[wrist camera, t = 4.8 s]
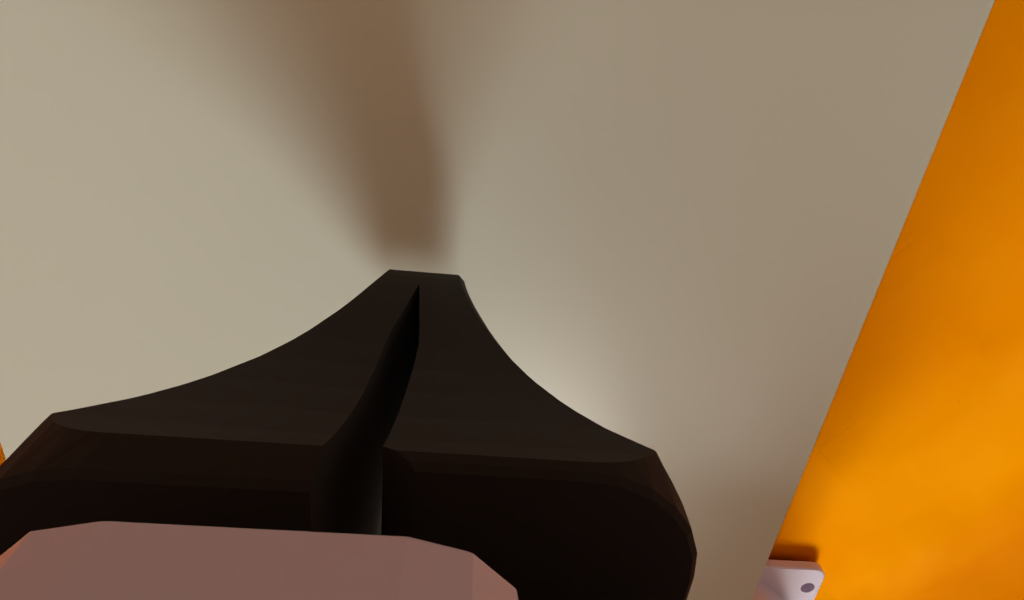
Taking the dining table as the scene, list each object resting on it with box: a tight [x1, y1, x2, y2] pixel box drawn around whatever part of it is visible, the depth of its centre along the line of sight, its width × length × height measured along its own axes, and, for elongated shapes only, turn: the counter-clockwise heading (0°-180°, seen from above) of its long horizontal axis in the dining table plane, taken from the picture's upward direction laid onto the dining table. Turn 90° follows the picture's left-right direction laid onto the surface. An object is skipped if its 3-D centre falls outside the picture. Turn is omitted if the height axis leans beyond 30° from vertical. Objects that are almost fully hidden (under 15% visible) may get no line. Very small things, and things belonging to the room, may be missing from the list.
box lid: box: [0, 0, 995, 600], centre depth 13 cm, size 17×18×1 cm
